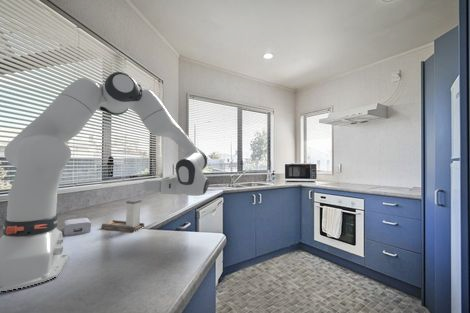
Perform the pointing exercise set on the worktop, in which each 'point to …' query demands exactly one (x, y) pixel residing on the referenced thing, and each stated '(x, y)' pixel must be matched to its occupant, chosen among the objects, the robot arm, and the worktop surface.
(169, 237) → the worktop surface
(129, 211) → the white upright block
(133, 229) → the track
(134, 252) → the worktop surface
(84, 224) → the charger
